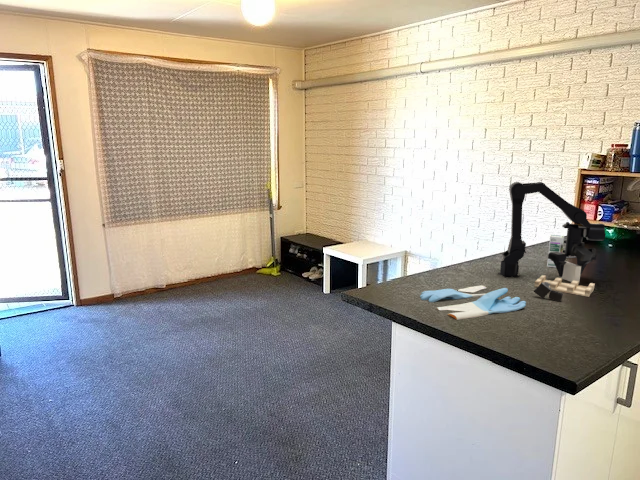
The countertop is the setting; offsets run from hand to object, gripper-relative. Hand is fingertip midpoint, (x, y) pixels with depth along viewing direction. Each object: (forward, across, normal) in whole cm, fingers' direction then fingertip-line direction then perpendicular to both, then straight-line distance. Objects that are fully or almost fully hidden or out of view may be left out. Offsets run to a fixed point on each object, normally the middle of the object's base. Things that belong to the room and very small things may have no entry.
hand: (570, 276), depth 192 cm
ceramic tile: (+2, 0, 0) cm, 2 cm away
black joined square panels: (+2, -25, -19) cm, 31 cm away
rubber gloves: (+2, -54, -16) cm, 56 cm away
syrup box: (+2, +9, +21) cm, 23 cm away
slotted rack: (+2, -10, -9) cm, 14 cm away
